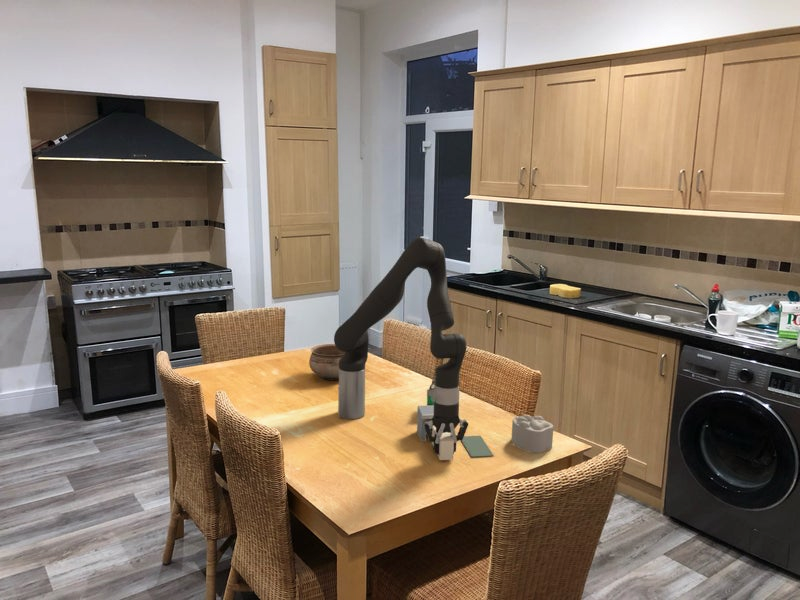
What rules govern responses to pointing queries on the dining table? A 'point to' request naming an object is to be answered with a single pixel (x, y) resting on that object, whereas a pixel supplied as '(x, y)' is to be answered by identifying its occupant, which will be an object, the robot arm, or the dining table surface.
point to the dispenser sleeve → (424, 419)
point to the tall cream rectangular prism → (445, 445)
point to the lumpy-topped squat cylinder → (532, 433)
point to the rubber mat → (476, 446)
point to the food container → (431, 394)
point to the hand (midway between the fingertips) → (444, 453)
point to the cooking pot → (326, 361)
